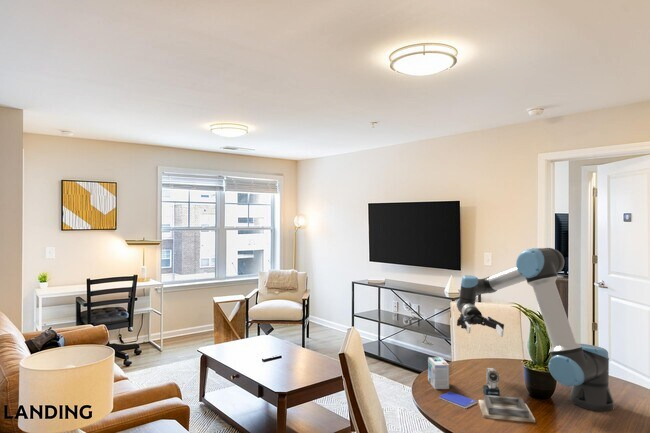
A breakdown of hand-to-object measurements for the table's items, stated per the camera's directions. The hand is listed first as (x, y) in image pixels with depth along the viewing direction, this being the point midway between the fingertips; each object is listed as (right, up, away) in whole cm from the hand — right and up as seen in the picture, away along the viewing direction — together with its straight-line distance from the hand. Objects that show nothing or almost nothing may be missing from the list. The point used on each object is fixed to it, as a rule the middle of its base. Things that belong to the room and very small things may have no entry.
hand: (485, 331), depth 182 cm
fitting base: (+2, -27, -15) cm, 31 cm away
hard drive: (-13, -28, -5) cm, 31 cm away
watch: (+3, -27, +1) cm, 27 cm away
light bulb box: (-17, -27, +12) cm, 34 cm away
